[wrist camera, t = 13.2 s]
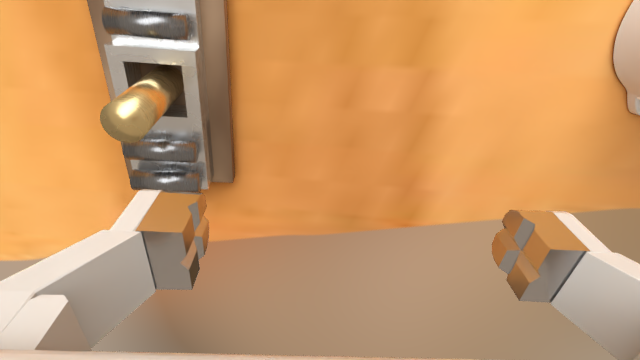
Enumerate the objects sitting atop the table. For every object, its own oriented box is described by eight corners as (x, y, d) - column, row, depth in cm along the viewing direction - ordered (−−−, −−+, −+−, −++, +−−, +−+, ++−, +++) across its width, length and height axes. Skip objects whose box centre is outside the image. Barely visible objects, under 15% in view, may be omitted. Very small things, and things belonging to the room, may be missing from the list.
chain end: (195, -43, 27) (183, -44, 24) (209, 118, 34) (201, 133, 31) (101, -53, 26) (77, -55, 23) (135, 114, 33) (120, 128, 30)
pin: (183, 65, 31) (142, 103, 23) (186, 97, 33) (150, 143, 24) (149, 63, 31) (95, 100, 22) (154, 95, 32) (105, 141, 24)
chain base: (224, -54, 28) (220, -55, 27) (234, 175, 39) (232, 182, 38) (80, -70, 27) (70, -72, 26) (134, 171, 38) (129, 178, 37)
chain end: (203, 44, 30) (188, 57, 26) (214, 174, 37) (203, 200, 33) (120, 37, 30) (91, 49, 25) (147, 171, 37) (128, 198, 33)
